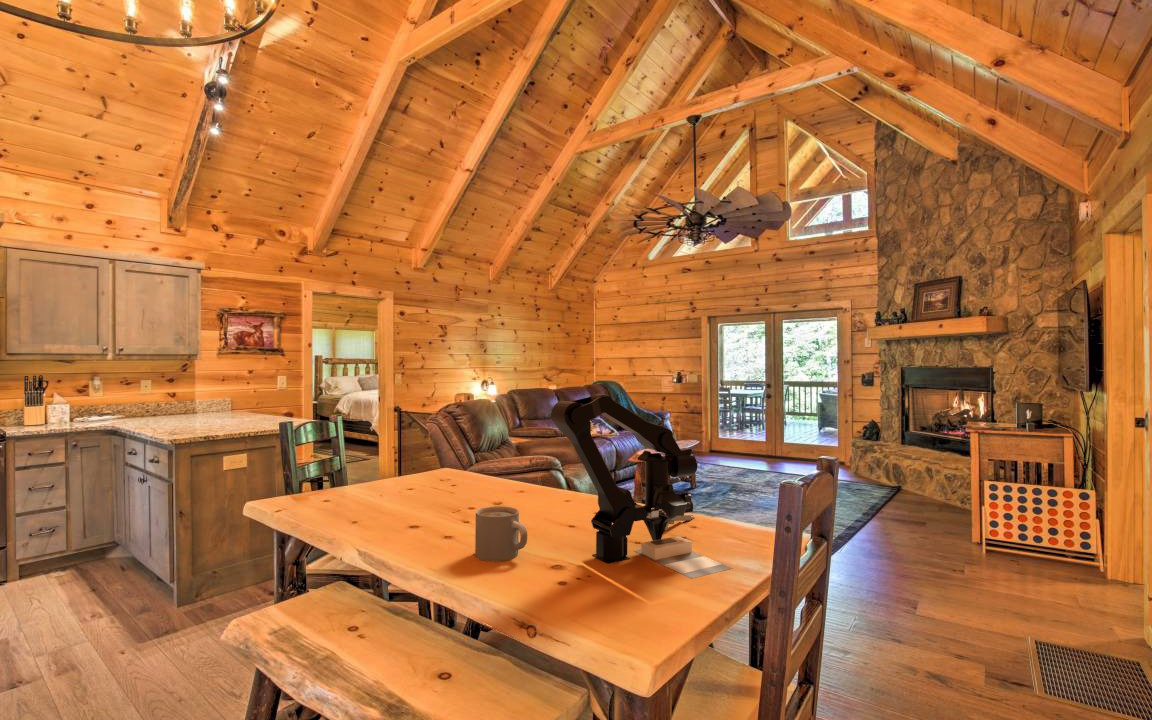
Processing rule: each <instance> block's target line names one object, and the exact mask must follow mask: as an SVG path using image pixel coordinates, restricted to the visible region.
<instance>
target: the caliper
mask: <svg viewBox="0 0 1152 720" xmlns="http://www.w3.org/2000/svg"><path fill="white" fill-rule="evenodd" d="M691 516H693V517H691ZM691 519H692V520H694V519H695V516H694V515H693V514H684V515H683V516H676V517H675V518H673V519H671V520H670V521H669V522H668V523H667V525H666V527H665V530H664V532H666V531H668V528H669V524H670V525H675V522H681V521H683V522H684V521H692V520H691Z"/></svg>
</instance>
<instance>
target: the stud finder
mask: <svg viewBox="0 0 1152 720" xmlns="http://www.w3.org/2000/svg"><path fill="white" fill-rule="evenodd" d="M692 544H693V542H692V541H691V540H689V539H686V538H685V537H684V538H683V537H681V536H679V535H676V536H671V537H666V538H665V537H664V538H661V539H659V540H654V541H653V540H649V541H643V542H641V546H640V547H641V554H643V555H645V556H648V557H650V558H652V559H654V560H657V559H662V558H667V557H671V556H676V555H681V554H686V553H691V552H693V549H692V548H693V545H692ZM643 555H642V556H643ZM645 556H644V557H645Z"/></svg>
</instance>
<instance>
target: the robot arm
mask: <svg viewBox="0 0 1152 720" xmlns="http://www.w3.org/2000/svg"><path fill="white" fill-rule="evenodd" d="M600 415H602V416H603V417H605V418H607V420H608V419H609V420H610V421H612V422H613V423H614V424H617V425H618V426H620V427H621V428H623V429H625V430H626V431H628V432H629V433H631V434H632V435H633V436H634V437H635V439H636V441H638V443H640V444H641V445H642V446H643V447H644V448H645V449H648V450H643V452H642V453H641V454H640V455H638V457H637V461H640V462H644V463H645V467H644V470H645V471H644V472H645V474H644V477H645V478H644V481H642V482H641V487H643V488H644V498H642V499H641V504H643V505H641V504H638V503H636V502H635V500H634V498H633V495H632V492H631V491H630V490H629V489H627V488H623V487H622V486H621V487H620V486H618V485H617V483H616V481H615V479H614V478H613V475H612V474H611V472H610V470H609V468H608V465H607V463H606V462H605V459H604V458H603V456H602V454H601V452H600V449H599V448H598V446H597V444H596V442H595V440H594V438H593V436H592V423H591V421H592V420H594V419H596V418H598V417H599V416H600ZM550 418H551V421H552V422H553V424H554V425H555V426H556V427H557V429H558V430H559V431H560V433H562V435H564V436H565V437H566V439H568V441H570V442H571V444H572V446H573V448H574V450H575V451H576V454H577V455H578V457H579V459H580V461H581V463H582V465H583V467H584V469H585V471H586V473H587V475H588V477H589V479H590V480H591V483H592V485H593V486H594V488H595V490H596V493H597V505H598V507H599V509H598V511H597V512H596V513H595V514H594V516H593V517H592V518H591V526H592V528H593V529H594V530H597V531H596V533H595V535H596V536H595V537H596V538H595V540H596V541H595V553H593V554H592V555H591V556H592V557H594V558H596V559H598V560H599V561H601V562H603V563H605V564H608V565H609V564H614V563H618V562H622V561H624V562H625V561H628V560H631V557H629V556H628V546H629V545H628V539H629V538H628V536H630V535H631V533H632V529H633V526H634V522H640V521H643V523H644V525H645V526H646V528H647V530H648V533H649V536H650V538H651V541H654V540H659V539H663V535H664V532H665V527H666V525H667V523H668V522H669V521H670V520H671V519H673V518H675V517H676V516H683V515H685V514H687V513H689V514H690V513H693V512H694V503H693V502H692V495H691V494H690V493H689V492H688V491H687V492H682V493H675V491H674V485H673V484H672V483H670V477H672V478H680V477H686V476H687V477H688V476H693V475H695V474H696V473H697V470H698V465H699V464H698V462H697V459H696V457H695V455H694V454H693V453H692V452H693V450H692V448H690V447H689V448H688V447H682V448H680V446H679V445H678V443H677V441H676V440H675V438H674V432H673V431H672V429H670V428H667V427H666V426H663V425H661V424H657V423H654V422H651V421H647V420H646V419H644V418H642V417H641V416H639V415H638V414H636V413H635V412H633V411H631V410H630V409H628V408H627V407H625V406H623V405H622V404H620V403H619V402H617V401H616V400H614V399H613V398H612V397H610V395H608V394H604V393H603V394H602V393H594V394H592V395H590V396H587V397H583V398H579V399H574V400H571V401H568V400H560V401H558V402H556V403H555V404H554V405H553V407H552V409H551V412H550ZM649 450H652V451H655V452H653V453H652V452H651V451H649ZM663 454H664V455H663Z"/></svg>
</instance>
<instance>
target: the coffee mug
mask: <svg viewBox="0 0 1152 720" xmlns="http://www.w3.org/2000/svg"><path fill="white" fill-rule="evenodd" d="M519 514H520V512H519V509H517V508H515V507H512V506H507V505H506V506H503V505H502V506H501V505H497V506H496V505H495V506H487V507H482V508H478V509H477V510H476V511H475V534H474V535H475V536H474V537H475V541H474V543H475V545H474V548H475V549H474V554H475V555H474V556H475V558H476V559H477V560H479V561H483V562H495V563H498V562H506V561H510V560H513V559H515V558H516V557H518V556H519V550H521V549H523V548H524V547H526V545H527V542H528V531H527V527H526V525H524V523H521V522H520V521H519V520H520V519H519V518H520V515H519ZM519 534H520V536H519ZM519 537H520V540H519Z"/></svg>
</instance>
